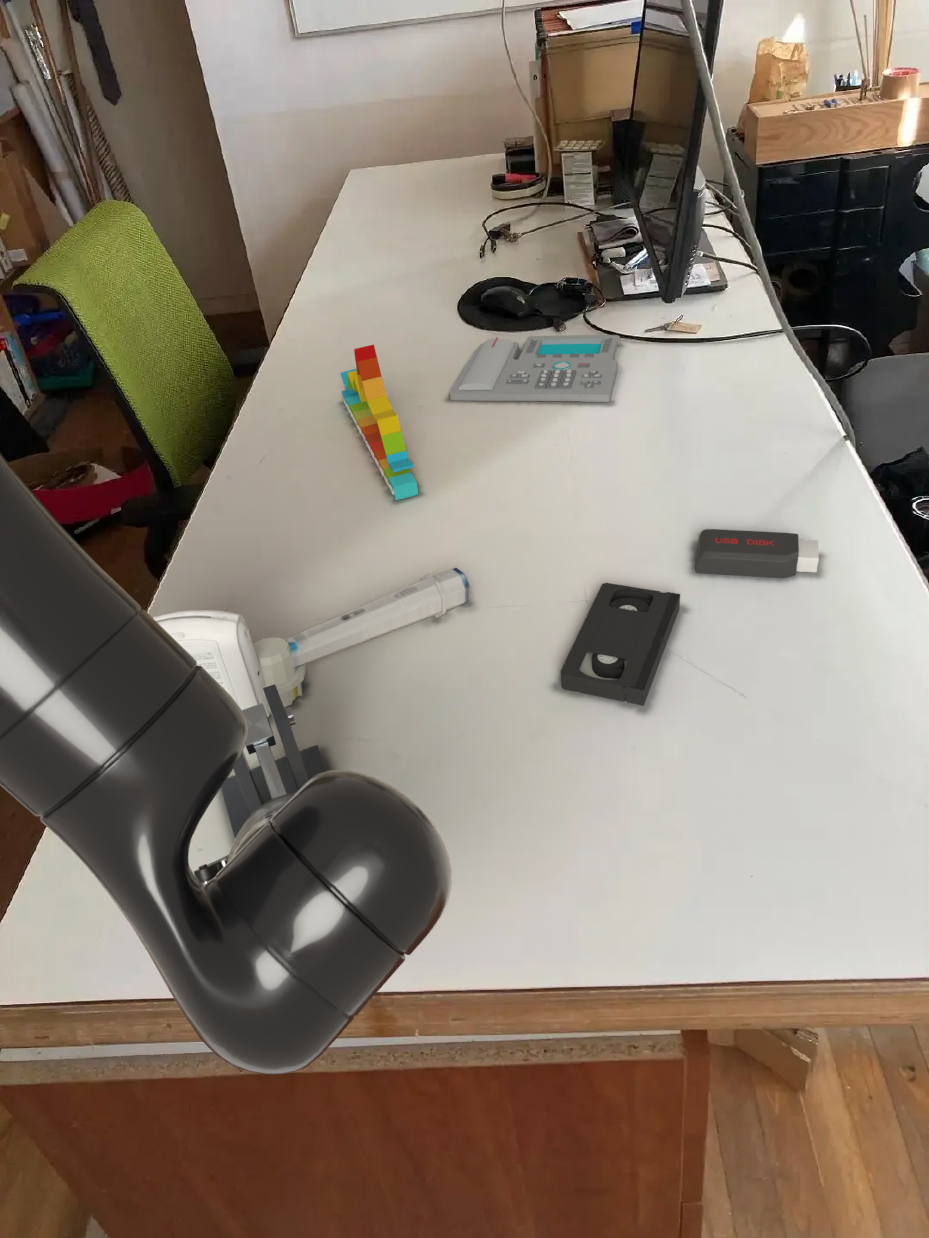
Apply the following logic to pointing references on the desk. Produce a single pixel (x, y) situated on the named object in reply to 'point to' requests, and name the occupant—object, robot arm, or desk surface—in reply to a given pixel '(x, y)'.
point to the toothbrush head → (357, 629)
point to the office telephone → (541, 370)
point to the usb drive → (755, 553)
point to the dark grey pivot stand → (294, 769)
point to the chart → (378, 422)
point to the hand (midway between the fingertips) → (294, 840)
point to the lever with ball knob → (263, 747)
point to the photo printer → (220, 651)
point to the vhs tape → (621, 643)
